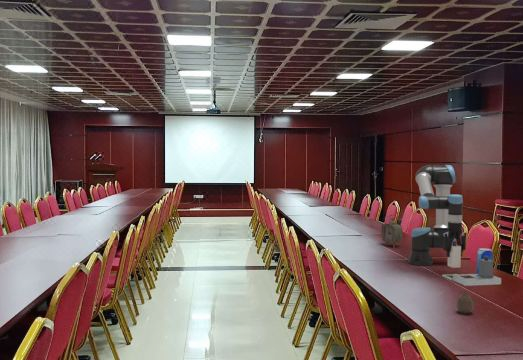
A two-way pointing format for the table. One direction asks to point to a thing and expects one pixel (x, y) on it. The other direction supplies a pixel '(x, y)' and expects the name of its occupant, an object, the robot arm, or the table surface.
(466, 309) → the grey rounded lump
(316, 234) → the table surface
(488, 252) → the beer can
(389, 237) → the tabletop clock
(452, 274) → the tray
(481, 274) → the twin plug
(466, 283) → the metal socket frame
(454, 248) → the plug
